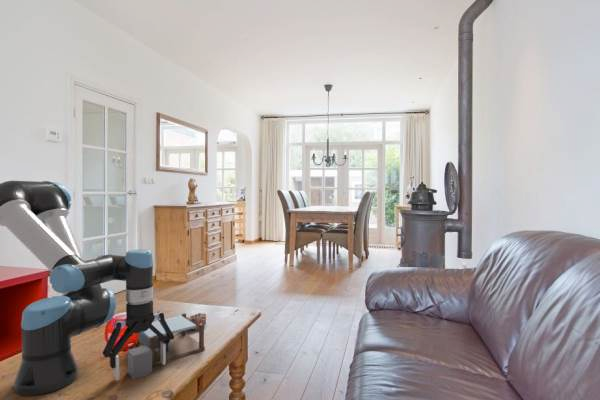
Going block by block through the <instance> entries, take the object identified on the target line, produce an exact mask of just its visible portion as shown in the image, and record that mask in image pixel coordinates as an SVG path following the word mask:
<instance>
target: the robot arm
mask: <svg viewBox="0 0 600 400" xmlns="http://www.w3.org/2000/svg"><path fill="white" fill-rule="evenodd" d="M71 202H72V197H71V194H70V192H69V190H68V189H67V187H65V186H64V185H63V184H61V183H59V182H53V181H49V180H45V181H44V180H43V181H35V180H34V181H33V180H32V181H31V180H30V181H29V180H7V181H4V182H2V183H0V226H2V227H6V229H8V230H9V231H10V233H12V234H13V235H14V236H15V238H16V239H18V240H19V241H20V242H21V243H22V244H23V246H25V248H27V249H28V250H29V251H30V252H31V253H32V254H33V255H34V256H35V257H36V258H37V260H39V261H40V262H41V263H42V264H43V265H44V266H45V267H46V268H47V269H48V271H49V272H50V274H49V284H51V288H52V290H53V291H55V292H56V293H59V294H61V295H55V296H52V297H45V298H41V299H39V300H37V301H34V302H32V303H30V304H29V305H27V306H26V307H25V308H24V309H23V311H22V313H21V322H20V327H21V362H20V366H19V368H18V371H17V373H16V377H15V379H14V384H13V385H14V388H13V389H14V392H15V393H16V394H17V395H19V396H39V395H45V394H48V393H53V392H55V391H57V390H60V389H63V388H65V387H66V386H68V385H70V384H71V383H73V382H74V381H75V380H76V379H77V378H78V376H79V368H78V364H77V362H76V359H75V357H74V354H73V352H72V338H74V337H76V336H78V335H81V334H83V333H86V332H89V331H91V330H93V329H98V328H100V327H101V326H103V325H105V324H107V323H109V322H110V321H111V320H112V319H113V317H114V315H115V312H116V310H117V300H116V296H115V294H114V293H113V291H112V290H110V289H108V288H105V287H104V288H103V287H102V285H101V284H104V283H107V282H111V281H123V282H125V295H126V296H125V301H126V302H127V303H126V304H125V306H126V307H125V311H126V312H125V314H126V317H125V320H122V321H121V320H120V321H119V320H115V322H114V327H113V330H112V332H111V334H110V336H109V339H107V342H106V345H105V347H104V349H103V351H102V355H103V357H104V358H109V366H110V368H111V369H113V377H114V379H115V380H116V381H118V380H120V356H119V355H118V354H119V353H120V352H121V350H122V349H123V347H124V346H125V344H126V343H127V341H128V340H129V339H130V338H131V337H132V336H133V334H135V333H139V332H144V331H147V330H148V329H151V330H152V331H153V332H154V333H155V334H156V335H157V336H158V337H160V338H161V339H162V340H163V341H161V342H160V362H161V363H160V364H162V365H163V366H164V365H166V364H167V363H166V352H168V343H169V342H170V340H171V339H174V336H175V335H174V333H172V332H171V330H170V328H169V326H168V325H167V323H166V321H165V319H166V318H165V314H164V313H163V312H162V311H160V310H159V311H158V312H157V313H154V300H153V299H154V282H153V279H154V277H153V276H154V269H153V268H154V260H153V252H152V251H151V250H150V249H132V250H128V251H127V252H126V253H125V255H119V254H118V255H116V254H111V253H110V254H100V255H99V256H97V257H96V258H93V259H88V260H84V257H83V255H82V252H81V250H80V248H79V246H78V243H77V241H76V238H75V236H74V233H73V231H72V229H71V226H70V224H69V223H68V219H67V217H68V216H69V214H70V211H69V210H70V209H71V207H72V203H71ZM155 319H156V321H159V322H160V324H161V325H162V327H163V329H164V331H165V332H166V334H167V336H166V337H165V336H164V335H163V334H162V333H161V332H160V331H158V330H157V329H156V328H155V327H154V326H153V325H152V322H153V321H154V320H155ZM124 326H126V329H124V331H123V333H122V335H121V336H120V333H121V330H122V329H123V328H124ZM119 336H120V338H119V339H118V337H119ZM117 340H118V341H117Z"/></svg>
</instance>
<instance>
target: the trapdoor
mask: <svg viewBox="0 0 600 400" xmlns="http://www.w3.org/2000/svg"><path fill="white" fill-rule="evenodd" d="M164 319H165V321H166V323H167V325H168V326H169V328H170V330H171V332H172V333H173V334H176V333H182V331H185V330H186V331H188V330H194V329H193V328H196V325H195V324H194V323H192V322H191V321H189V320H187V319H186V318H184V317H183V316H182V315H178V316H173V317H169V318H164ZM152 325H153V326H154V327H155V328H156V329H157V330H158V331H160V332H161V333H162V334H164V333H166V332H165V331H164V329H163V327H162V325H161V324H160V322H159V320H155V322H152ZM152 336H154V337H155V349H157V348H159V337H158V336H157V335H156V334H155V333H154V332H153V331H152V330H151V329H148V330H147V331H144V332H139V333H138V340H139V341H140V343H141V345H144V346H145V345H147V346H148V347H149V337H152Z"/></svg>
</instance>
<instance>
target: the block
mask: <svg viewBox="0 0 600 400" xmlns="http://www.w3.org/2000/svg"><path fill="white" fill-rule="evenodd" d="M127 374H128V375H129V376H130V377H131V379H132V380H137V379H139V378H140V379H141V378H142V377H145V376H149V375H151V374H153V366H152V350H151V349H150V348H149V347H148V346H147V345H145V346H141V347H137V348H134V347H133V348H130V349H127Z"/></svg>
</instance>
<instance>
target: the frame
mask: <svg viewBox="0 0 600 400" xmlns="http://www.w3.org/2000/svg"><path fill="white" fill-rule="evenodd" d="M181 316H183V317H184V318H186V317H187V313H186V312H183V313H181ZM163 335H164V336H165V337H166V336H167V334H166V333H164V334H163ZM161 341H163V340H162V339H161V338H160V337H159V348H157V349H155V337H154V336H152V337H149V348H150V349H151V350H152V367H153V366H156V365H160V364H162V363H161V362H160V342H161ZM140 343H141V342H140V341H139V342H138V343H137V344H136V346H135V345H134V346H133V348H137V347H141V346H144V345H143V344H140ZM204 344H205V325H204V324H200V325H199V330H198V340H196V339H194V338H193V337H192V336H190V335H189V334H187V330H185V331H181V334H179V335H174V339H171V340H170V342H169V343H168V352H166V362H169V361H173V360H176V359H179V358H182V357H186V356H189V355H192V354H193V355H194V354H196V353H199V352H203V351H205V349H206V348H205V347H206V346H205V345H204Z"/></svg>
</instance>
